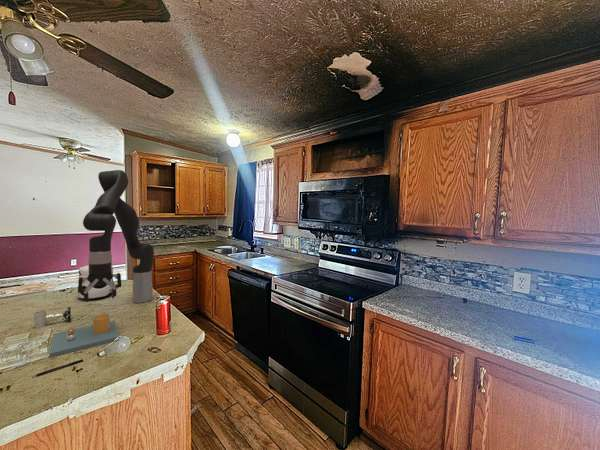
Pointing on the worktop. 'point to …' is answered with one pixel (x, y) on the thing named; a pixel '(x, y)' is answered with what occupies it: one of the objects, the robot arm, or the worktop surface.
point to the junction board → (81, 339)
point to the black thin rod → (58, 368)
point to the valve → (48, 317)
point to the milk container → (94, 291)
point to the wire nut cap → (101, 323)
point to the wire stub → (71, 335)
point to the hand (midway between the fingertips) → (100, 299)
